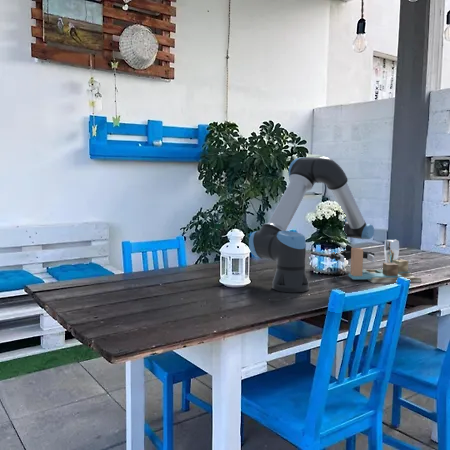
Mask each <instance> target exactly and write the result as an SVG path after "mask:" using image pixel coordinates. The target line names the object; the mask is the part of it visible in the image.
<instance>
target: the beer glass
mask: <svg viewBox="0 0 450 450" xmlns="http://www.w3.org/2000/svg"><path fill="white" fill-rule="evenodd" d="M383 246H384V247H383V251H384V252H383V253H384V259H385V262H384V263H392V260H396V259H399V253H400V240H397V239H384V245H383Z"/></svg>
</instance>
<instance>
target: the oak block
mask: <svg viewBox="0 0 450 450" xmlns="http://www.w3.org/2000/svg"><path fill="white" fill-rule="evenodd" d="M392 263H396V264H398V272H408V271H409V260H405V259H402V258H401V259H399V258H398V259H396V260H392Z"/></svg>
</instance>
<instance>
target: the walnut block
mask: <svg viewBox="0 0 450 450" xmlns="http://www.w3.org/2000/svg"><path fill="white" fill-rule="evenodd" d="M382 269H383V274H384V275H386V276H398V264H396V263H385V262H382Z"/></svg>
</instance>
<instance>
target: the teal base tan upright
mask: <svg viewBox="0 0 450 450" xmlns="http://www.w3.org/2000/svg"><path fill="white" fill-rule="evenodd" d="M363 251H364V248H361V247H352V248H351V259H350V272H349V273H348V277H349V278H350V279H352V280H367V279H372V278H398V277H402V276H401V275H399V274H398V276H386V275H384V274H383V273H362V271H363V268H364V267H363V266H364V263H363V261H364V258H363Z"/></svg>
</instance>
